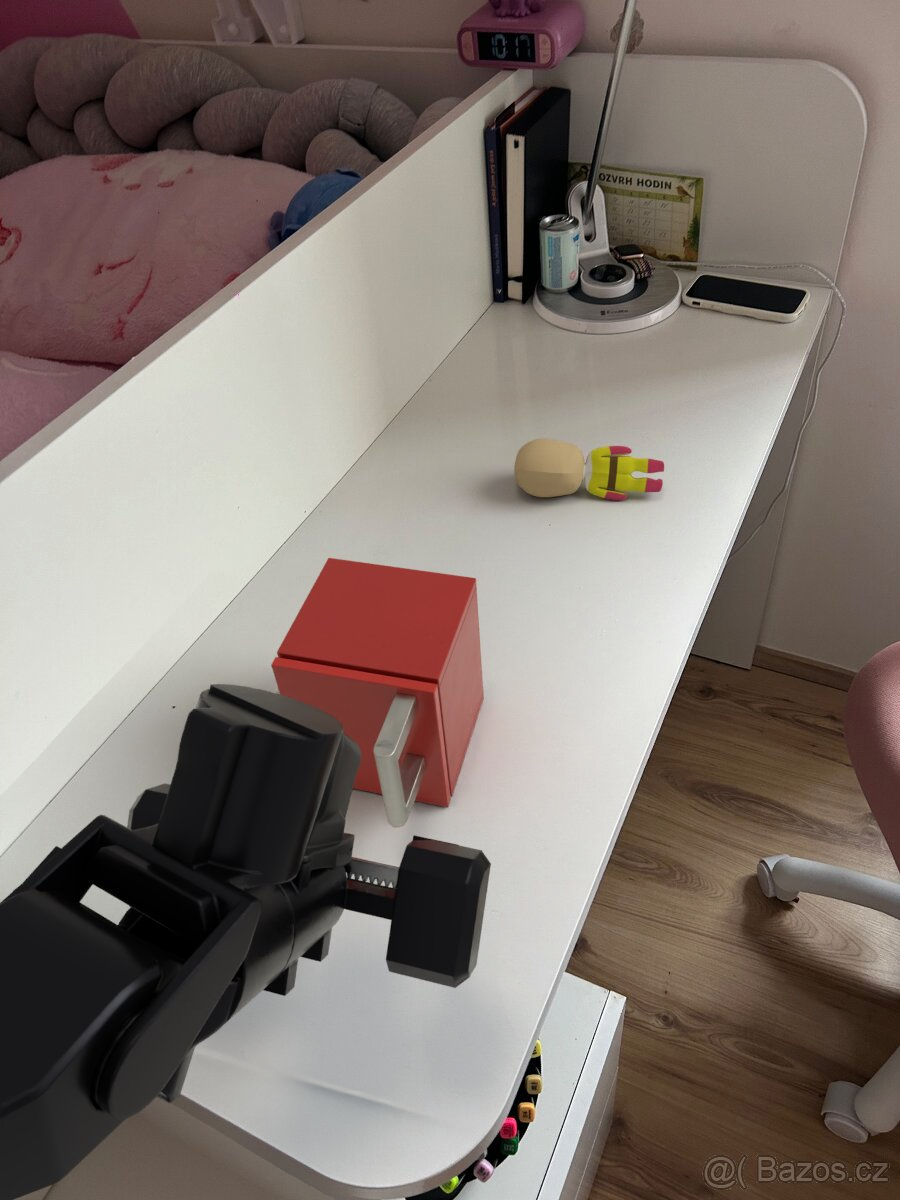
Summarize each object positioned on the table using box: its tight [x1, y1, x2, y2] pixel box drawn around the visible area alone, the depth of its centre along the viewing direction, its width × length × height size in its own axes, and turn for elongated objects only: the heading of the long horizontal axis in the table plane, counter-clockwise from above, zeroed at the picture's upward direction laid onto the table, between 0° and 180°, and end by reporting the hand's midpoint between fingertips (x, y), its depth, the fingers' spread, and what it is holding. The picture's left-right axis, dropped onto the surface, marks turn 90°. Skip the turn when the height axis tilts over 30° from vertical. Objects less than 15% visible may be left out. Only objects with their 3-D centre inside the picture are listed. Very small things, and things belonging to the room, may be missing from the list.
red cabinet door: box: [271, 656, 452, 829], centre depth 64 cm, size 6×12×13 cm, turn 74°
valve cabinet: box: [276, 557, 485, 798], centre depth 70 cm, size 10×12×14 cm
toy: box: [513, 438, 665, 501], centre depth 94 cm, size 6×7×15 cm
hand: (356, 841), depth 55 cm, fingers open, 9 cm apart
